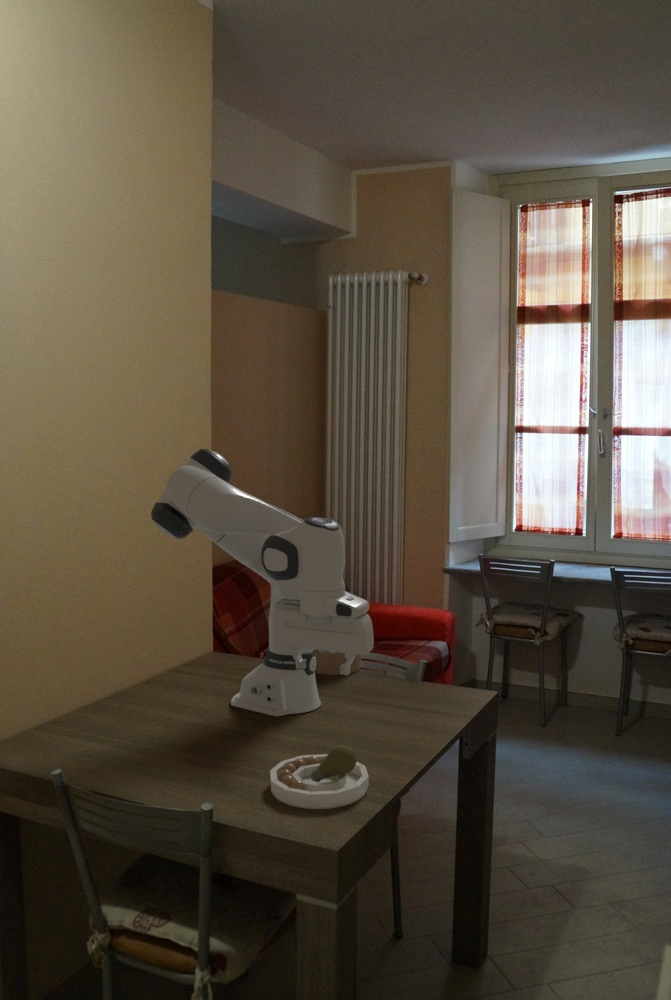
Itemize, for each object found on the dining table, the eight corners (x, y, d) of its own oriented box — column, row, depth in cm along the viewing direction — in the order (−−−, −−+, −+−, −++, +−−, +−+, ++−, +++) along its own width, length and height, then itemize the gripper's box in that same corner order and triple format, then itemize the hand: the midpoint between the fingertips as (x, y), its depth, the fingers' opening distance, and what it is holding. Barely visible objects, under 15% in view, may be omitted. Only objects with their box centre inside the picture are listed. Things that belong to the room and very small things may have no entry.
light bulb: (301, 760, 185) (344, 734, 185) (315, 776, 188) (357, 750, 188) (307, 780, 180) (351, 753, 180) (321, 796, 183) (364, 770, 183)
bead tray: (253, 798, 180) (253, 780, 180) (296, 762, 197) (296, 745, 197) (344, 816, 173) (344, 796, 172) (381, 777, 190) (381, 759, 189)
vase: (302, 674, 259) (301, 615, 257) (312, 658, 274) (312, 602, 272) (356, 677, 256) (356, 617, 254) (364, 661, 271) (364, 604, 269)
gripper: (267, 600, 183) (268, 669, 184) (364, 610, 175) (364, 682, 176) (281, 594, 188) (282, 661, 190) (376, 602, 180) (376, 672, 182)
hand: (322, 671), depth 183 cm, fingers open, 8 cm apart
